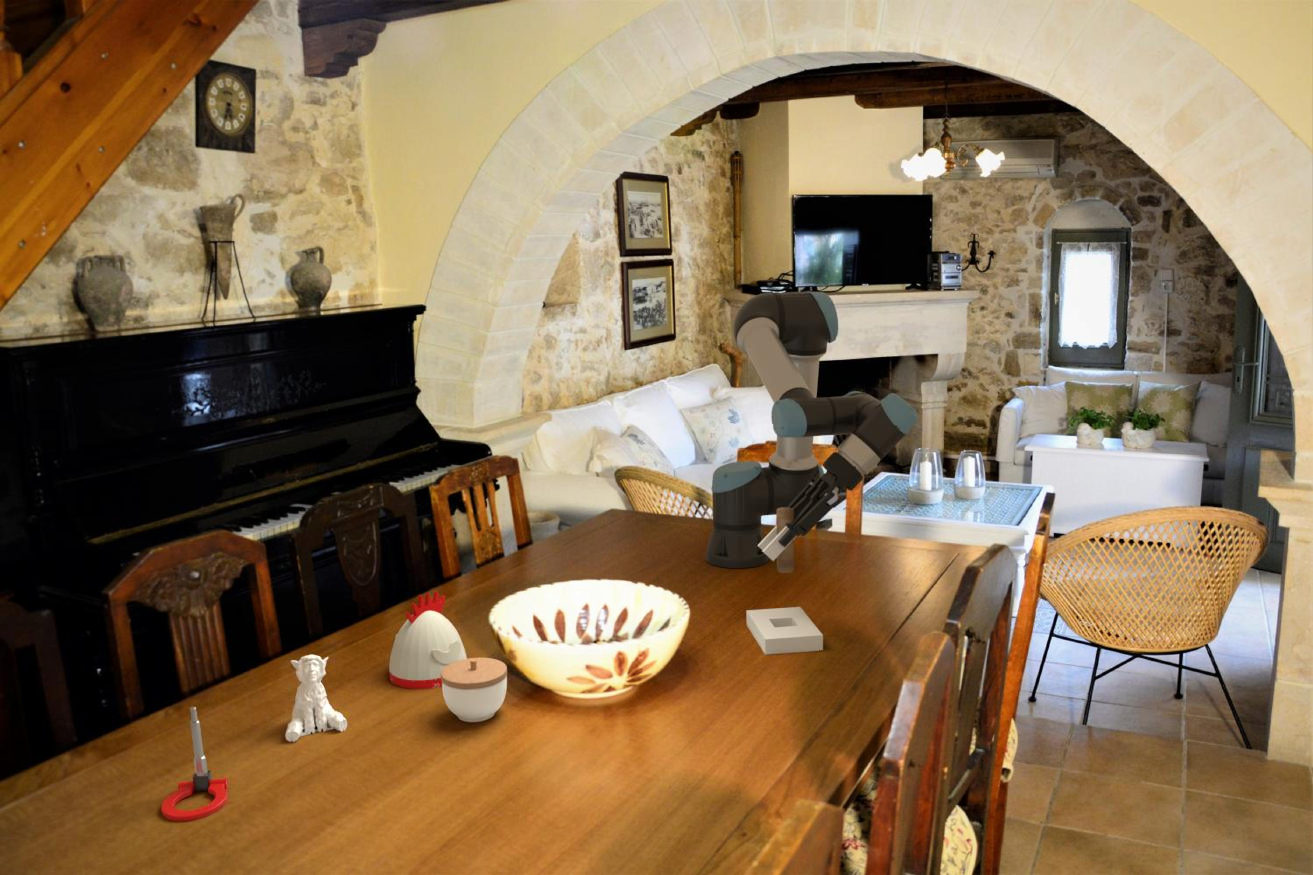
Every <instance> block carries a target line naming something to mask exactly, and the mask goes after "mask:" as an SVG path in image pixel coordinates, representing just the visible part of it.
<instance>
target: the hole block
mask: <svg viewBox="0 0 1313 875" xmlns="http://www.w3.org/2000/svg"><path fill="white" fill-rule="evenodd" d="M745 614H746V626H747V628H748V629H749V631H750V633H751V634H752V636H753V637H754V639H755V641H756V642H757V644H758V645H759V647H760V648H761V650H762V652H763V653H764V655H779V654H781V655H782V654H790V653H791V654H794V653H805V652H808V653H809V652H820V651H821V650H822V651H824V635H823V633H822V632H821V631H820V630H819V629H818V627H817V626H816V625H815V623H814V622H813V621H812V620H811V618H810V617H809V616H808V615H807V614H806V612H805V611H804V610H803V608H802V607H801V606H796V607H795V606H793V607H780V608H776V607H775V608H762V609H750V610H746V612H745ZM819 650H820V651H819Z"/></svg>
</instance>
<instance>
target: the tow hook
mask: <svg viewBox="0 0 1313 875" xmlns="http://www.w3.org/2000/svg"><path fill="white" fill-rule="evenodd" d="M189 711H190V717H191V718H190V719H191V721H190V723H189V724H190V730H191V738H192V746H193V753H194V757H193V764H194V770H195V771H194V774H193V775H192V780H191V781H180V782H178V784H177V790H176V791H174V792H173V793H171V794H170V795H168V796H167V797H166V799H165V800H163V802H162V804H161V814H162V815H163V817H164V818H166V819H167V820H169V821H174V822H186V821H187V822H188V821H194V820H198V819H202V818H205V817H208V816H210V815H212V814H214V813H216V812H217V811H219V810H220V809H221V808H223V806H225V804H226V803H227V801H228V790H227V788H229V779H228V778H227V777H223V778H213V777H212V770H208V766H207V765H208V764H207V757H206V755H205V754H204V753H205V752H204V747H203V740H202V738H203V737H202V731H201V723H200V722H201V721H200V719H198V713H197V707H196V706H191V707H190V708H189ZM194 792H196V793H197V792H199V793H200V792H208V794H210V795H212V796H214V799H213V800H212V801H211V802H210V803H208V804H207V805H205V806H203V807H199V808H197V809H193V810H192V809H191V810H179V809H177V808H176V807H175V805H176V804H177V803H178V802H180V801H181V800H183V799H185V798H188V797H190V796H191V795H193V793H194Z"/></svg>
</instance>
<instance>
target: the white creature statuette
mask: <svg viewBox="0 0 1313 875" xmlns="http://www.w3.org/2000/svg"><path fill="white" fill-rule="evenodd" d="M328 659H329V656H327V657H325V658H323V659H322V657H321V656H319V655H316V654H309V655H303V656H301V657H300V659H298V660H293V659H291V660H290V663H291V664H292V665H293V668H295V669H296V670H295V674H296V677H297V679H298V681H299V682H300V685H298V686H297V689H296V690H297V691H296V695H295V697H294V698H295V701H294V702H295V703H294V705H293V709H292V714H291V715H292V718H291V720H290V722H288V724H287V728H286V730H285V735H284V736H285V739H286V741H288V742H293V743H295V742H296V741H298V740H299V738H300V737H305V736H309V735H311V733H312V734H315V733H316V732H319V733H322V731H323V732H326V731H330V730H336V731H339V732H341V733H342V732H343V731H346V729H347V727H348V721H347V719H346V717H344V715H343V714H342V713H341V712H339V711H337V710H335V709H334V708H333V707H332V705H331V704H330V702H329V700H328V698H327V696H328V695H327V691H326V689H325V687H324V685H323V683H322V682H321V681H322V679H323V677H325V676H326V675H327V672H326V670H325V669H326V665H327V661H328ZM316 727H317V729H316Z"/></svg>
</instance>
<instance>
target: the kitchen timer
mask: <svg viewBox="0 0 1313 875" xmlns="http://www.w3.org/2000/svg"><path fill="white" fill-rule="evenodd" d="M417 598H418V600H417V604H415V603H413V602H411V604H410V605H411V609H412V612H413V614H412V615H411V614H410V613H409V612H408V611H404V613H405V617H406V618H407V619H406V621H405V622H404V623H403V625H402V626H401V627H400V629H399V631H398V632H397V633H396V635H395V638H394V642H393V645H392V649H391V653H390V657H389V667H388V668H389V670H388V672H389V680H390V682H391V683H392V684H393V685H395V686H398V687H401V688H403V689H404V688H405V689H416V690H424V689H434V688H440V687H441V688H442V681H441V671H442V670H443V668H444V667H446V666H447V665H449V664H451V663H453V662H456V661H459V660H463V659H468V658H467V656H468V655H467V653H466V649H465V647H464V644H463V641H462V639H461V636H460V635H459V632H458V630H457V629H456V627H455V626H454V625H453V623H452V622H451V621H450V620H449V619H448V618H446V616H444V615H443V614H442V611H443V607H444V604H445V600H446V595H441V596H440V594H439V592H438V591H436V590H434V591H433V596H432V597H431V594H430V593H428V592H425V597H424V596H423V595H421V594H418V597H417Z"/></svg>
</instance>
